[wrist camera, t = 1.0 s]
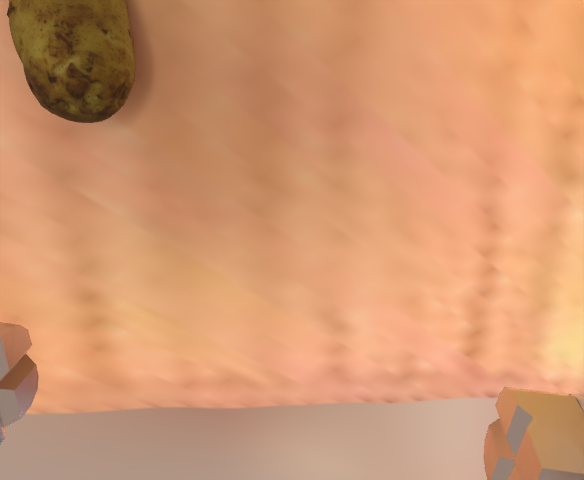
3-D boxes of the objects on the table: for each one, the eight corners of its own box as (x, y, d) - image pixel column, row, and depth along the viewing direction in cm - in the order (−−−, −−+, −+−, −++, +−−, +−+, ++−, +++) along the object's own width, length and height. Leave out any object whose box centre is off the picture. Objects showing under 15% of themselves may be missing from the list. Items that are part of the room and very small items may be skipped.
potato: (153, -63, 36) (134, -92, 28) (140, 119, 40) (121, 135, 32) (28, -90, 34) (-26, -128, 27) (29, 102, 38) (-18, 114, 31)
